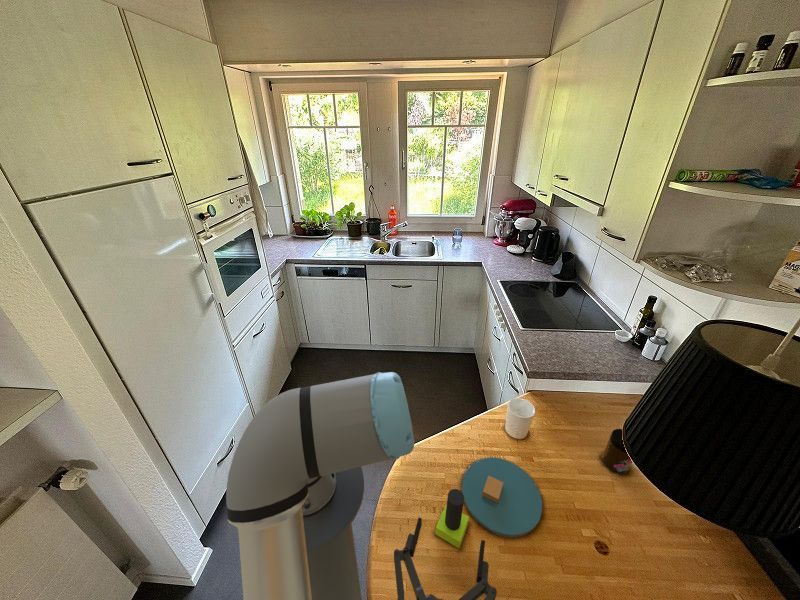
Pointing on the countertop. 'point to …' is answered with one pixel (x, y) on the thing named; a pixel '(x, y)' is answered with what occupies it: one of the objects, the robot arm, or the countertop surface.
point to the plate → (502, 498)
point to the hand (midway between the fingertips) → (450, 531)
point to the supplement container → (616, 453)
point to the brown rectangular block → (492, 489)
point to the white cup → (519, 417)
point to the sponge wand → (453, 519)
